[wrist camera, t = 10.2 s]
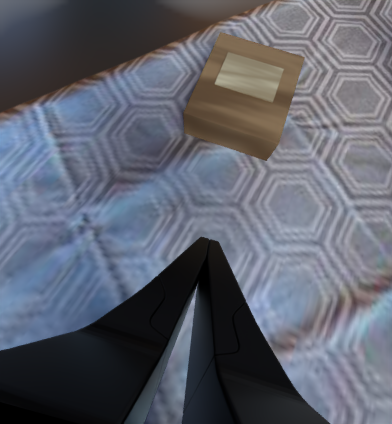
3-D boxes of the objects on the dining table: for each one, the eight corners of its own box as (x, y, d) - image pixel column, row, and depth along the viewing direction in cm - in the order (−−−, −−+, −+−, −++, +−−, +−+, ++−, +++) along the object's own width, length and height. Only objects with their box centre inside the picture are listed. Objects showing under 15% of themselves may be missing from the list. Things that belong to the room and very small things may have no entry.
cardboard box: (279, 143, 22) (305, 55, 25) (183, 111, 23) (220, 30, 26) (265, 162, 26) (289, 84, 29) (184, 135, 27) (216, 62, 30)
